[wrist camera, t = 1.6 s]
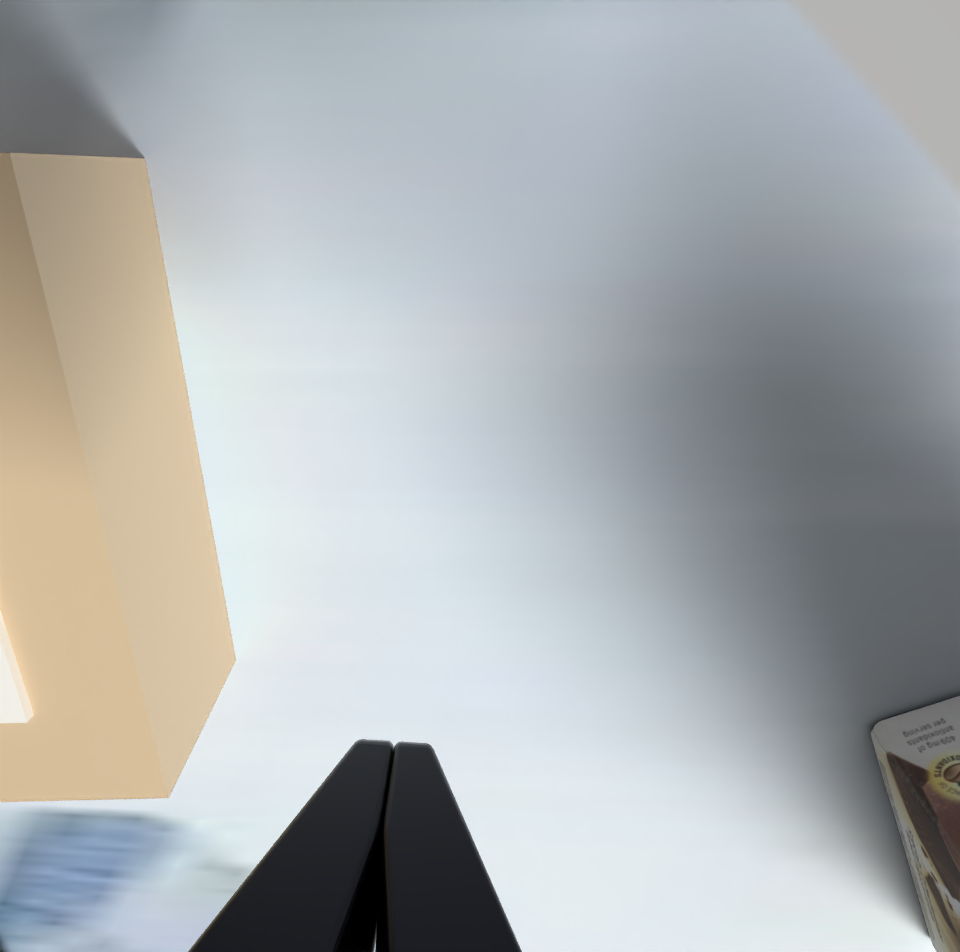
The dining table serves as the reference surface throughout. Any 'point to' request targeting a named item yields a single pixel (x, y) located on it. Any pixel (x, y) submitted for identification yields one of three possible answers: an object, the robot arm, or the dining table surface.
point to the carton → (97, 495)
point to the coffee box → (927, 807)
